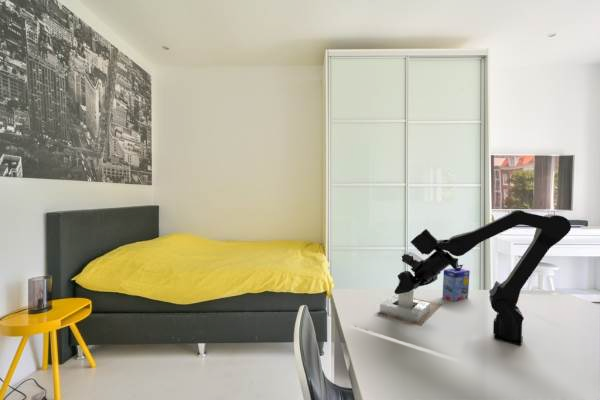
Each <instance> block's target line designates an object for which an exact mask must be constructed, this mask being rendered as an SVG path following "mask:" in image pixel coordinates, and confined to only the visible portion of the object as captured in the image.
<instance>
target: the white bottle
mask: <svg viewBox="0 0 600 400" xmlns="http://www.w3.org/2000/svg"><path fill="white" fill-rule="evenodd" d="M399 283H400V280H399V279H398V284H399ZM397 296H398V306H402V307H406V308H410V309H412V308H413V298H414V291H411V292H406V293H401V294H397Z"/></svg>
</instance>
